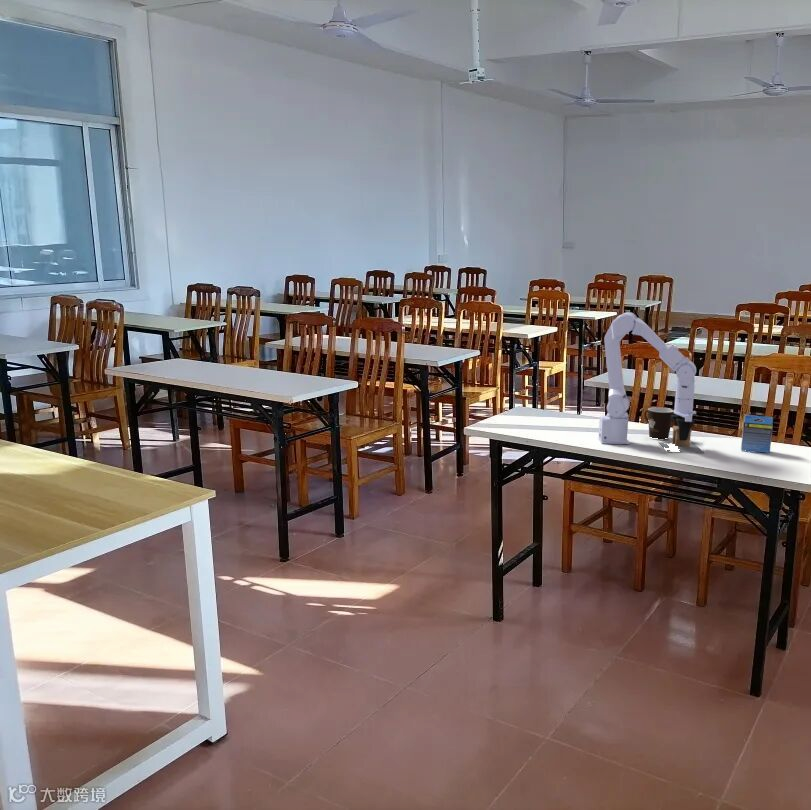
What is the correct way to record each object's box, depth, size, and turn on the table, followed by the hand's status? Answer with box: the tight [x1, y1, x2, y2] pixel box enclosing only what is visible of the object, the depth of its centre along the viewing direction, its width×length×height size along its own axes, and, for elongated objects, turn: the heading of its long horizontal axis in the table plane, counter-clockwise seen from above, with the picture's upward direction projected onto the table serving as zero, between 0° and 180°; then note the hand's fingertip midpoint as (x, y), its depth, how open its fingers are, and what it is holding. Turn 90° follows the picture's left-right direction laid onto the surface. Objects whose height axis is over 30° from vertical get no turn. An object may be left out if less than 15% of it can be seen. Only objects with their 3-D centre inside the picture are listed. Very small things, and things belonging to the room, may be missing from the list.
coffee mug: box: [643, 407, 674, 439], centre depth 292 cm, size 12×9×10 cm
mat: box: [657, 441, 705, 454], centre depth 277 cm, size 12×12×1 cm
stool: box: [671, 425, 693, 447], centre depth 276 cm, size 5×4×6 cm
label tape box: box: [740, 414, 774, 454], centre depth 273 cm, size 9×4×12 cm, turn 68°
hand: (681, 438), depth 276 cm, fingers open, 4 cm apart
